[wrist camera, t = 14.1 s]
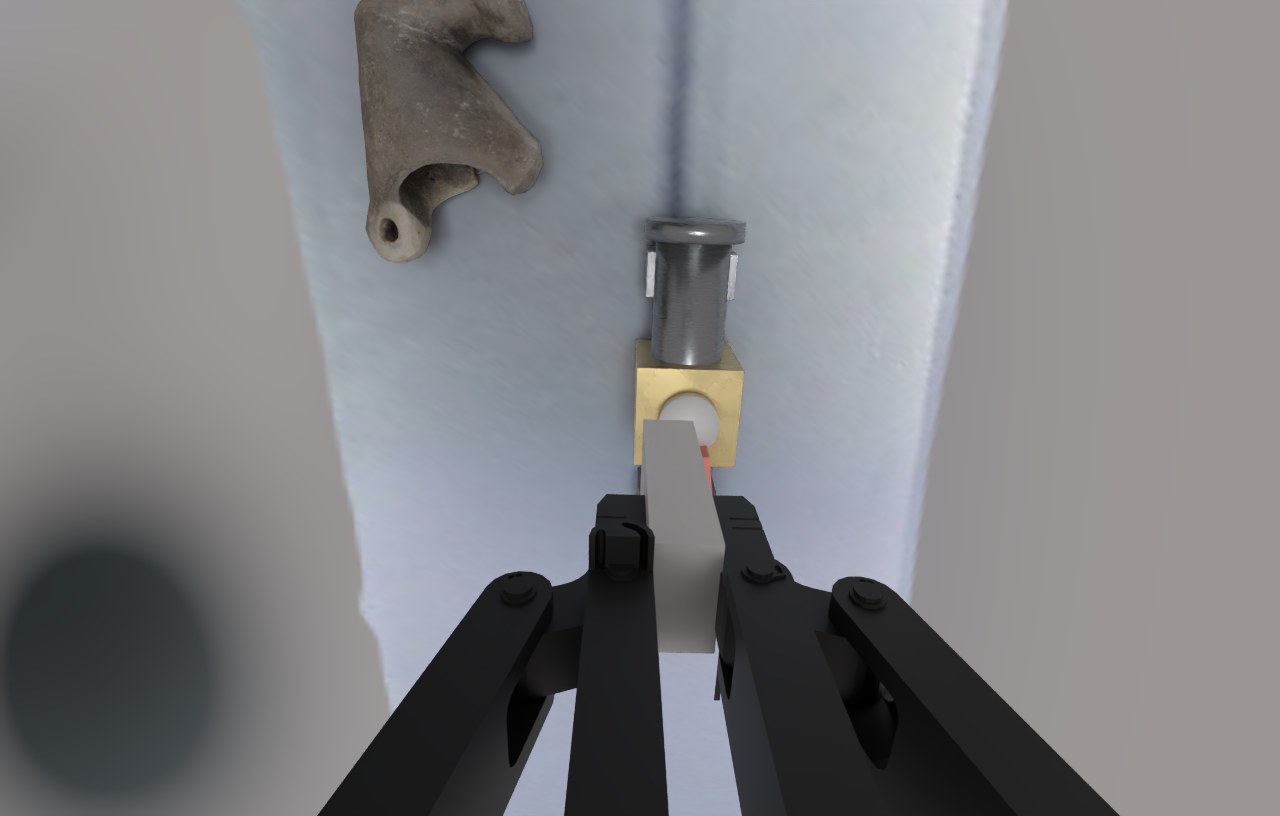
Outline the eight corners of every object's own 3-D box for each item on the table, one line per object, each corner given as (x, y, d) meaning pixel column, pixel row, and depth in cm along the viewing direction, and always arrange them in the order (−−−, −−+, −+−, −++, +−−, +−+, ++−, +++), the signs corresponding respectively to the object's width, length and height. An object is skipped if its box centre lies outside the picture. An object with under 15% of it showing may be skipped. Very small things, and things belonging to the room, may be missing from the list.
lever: (655, 396, 39) (657, 414, 36) (715, 389, 39) (723, 407, 36) (677, 598, 45) (680, 629, 42) (730, 593, 45) (737, 623, 42)
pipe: (427, 114, 48) (467, 284, 45) (305, 71, 41) (342, 269, 38) (548, -58, 37) (611, 151, 34) (409, -152, 30) (472, 98, 27)
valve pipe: (640, 214, 43) (642, 222, 36) (738, 218, 43) (759, 226, 36) (629, 520, 52) (629, 573, 45) (710, 522, 52) (723, 575, 45)
